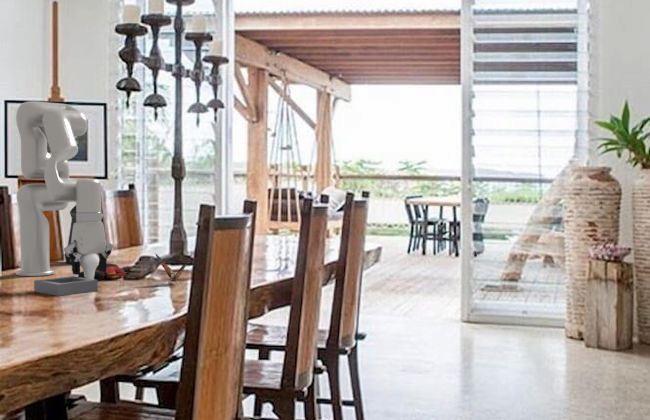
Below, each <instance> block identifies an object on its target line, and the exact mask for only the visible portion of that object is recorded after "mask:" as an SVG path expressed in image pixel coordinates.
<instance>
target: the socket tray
mask: <svg viewBox="0 0 650 420" xmlns="http://www.w3.org/2000/svg"><path fill="white" fill-rule="evenodd" d="M98 283H99V281H98V280H95V279H88V278H81V277H78V276H74V275H73V276H63V277H55V278H45V279H36V280H35V279H34V281H33V291H34V293H40V294H47V295H50V296H55V297H60V296H62V297H63V296H69V295H76V294H86V293H91V292H98V291H99V289H98V288H99V286H98Z"/></svg>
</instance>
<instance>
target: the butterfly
mask: <svg viewBox="0 0 650 420" xmlns="http://www.w3.org/2000/svg"><path fill="white" fill-rule="evenodd" d="M192 256H193V254H191V255H190V256H189V257H188V258H187V259H186V261H185V262H184V263H183V264H182V266H181V267H180V269H178V271H177V272H176V274H175V272H174V270H172V268H171V267H170V266H169V265H168V264H167V263H166V262H165V261H163V259H162V257H160V256H159V254H157V253H155V257H156V258H157V260H158V261H159V263H160V265H161V266H162V268H163V269H164V271H165V272H166V273H167V276H168V277H169V278H168V280H167V283H166V284H165V286H167V285H168V284H169V283H171V282H175V284H176V285H178V283H179V284H181V282H180V281H179V277H180V276H181V274H182V273H183V271H184V270H185V268H186V267H187V263H188V261H189V260H190V258H191V257H192ZM177 282H178V283H177Z"/></svg>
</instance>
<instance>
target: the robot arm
mask: <svg viewBox="0 0 650 420" xmlns="http://www.w3.org/2000/svg"><path fill="white" fill-rule="evenodd" d="M15 116H16V117H15V122H16V126H17V130H18V134H19V137H20V138H19V139H20V168H21V174H22V176H23V177H24V178H25V179H27V180H34V181H35V180H36V181H38V180H39V181H40V180H41V181H42V180H44V181H45V183H27V184H23V185H21V186H20V187H19V188H18V189H17V192H16V202H17V207H18V212H19V233H20V237H19V239H20V241H19V242H20V262H18V264H17V265H18V267H20V270H17V271H16V272H15V276H16V275H17V276H21V277H42V276H49V275H53V274H55V270H54V269H51V265H50V264H51V263H50V260H51V259H50V258H51V256H50V255H51V252H50V250H51V249H50V247H51V245H50V239H51V238H50V237H51V236H50V222H49V220H48V218H47V216H46V215H45V214H44V213H43V212H45V211H46V212H47V211H48V212H49V211H53V212H54V211H61V210H62V211H63V210H65V209H67V207H68V205H69V203H70V202H73V203H74V202H75V206H76V223H74V225H73V230H72V238H71V244H69V245H68V244H67V245H66V246H65V247H64V248H63V251H64V254H65V253H66V255H67V257H68V258H69V259H70V261H72V264H71V272H72V274H73V275H77V276H78V275H79V274H80V272H81V265H80V262H78V260H79V259H80V257H81V256H82V255H88V254H91V253H96V254H98V255H99V257H100V259H99V264H98V265H99V271H102V272H106V263H107V261H106V259H107V260H108V259H109V256H110V255H111V253H112V250H113V248H114V244H113V243H111V242H109V241H108V240H107V239H106V231H105V226H104V222H103V221H102V220H103V219H104V218H105V215H104V213H102V214H101V210H102V183H101V181H100V180H99V179H97V178H95V179H94V178H83V177H82V178H81V177H80V178H78V177H77V178H75V177H71V178H70V166H69V162H68V161H69V160H71V159H72V158H74V157H76V155H77V154H78V153H79V147H78V143H77V140H76V138H75V136H76V137H80V136H84V135H85V134H86V133H87V131H88V120H87V118H86V116H85V114H84V113H83V112H82V111H80V109H77V108H75V107H74V106H72V105H69V104H66V103H60V102H48V101H37V100H36V101H35V100H34V101H31V100H30V101H25V102H23V103H21V104H20V105H19V106H18V108H17V110H16V114H15ZM41 127H42V128H43V129H44V132H43V131H42V130H41ZM44 133H45V134H44ZM48 146H49V150H50V152H48ZM105 250H106V251H105ZM71 252H72V253H73V254H72V253H71Z"/></svg>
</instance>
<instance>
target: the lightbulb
mask: <svg viewBox="0 0 650 420" xmlns="http://www.w3.org/2000/svg"><path fill="white" fill-rule="evenodd" d="M79 262H80V268H81V269H82V271H84V277H85V278H88V279H94V276H95V270H96V268H97V266H98V265H99V256H98V254H96V253H91V254H88V255H82V256H81V257H80V259H79Z"/></svg>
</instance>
